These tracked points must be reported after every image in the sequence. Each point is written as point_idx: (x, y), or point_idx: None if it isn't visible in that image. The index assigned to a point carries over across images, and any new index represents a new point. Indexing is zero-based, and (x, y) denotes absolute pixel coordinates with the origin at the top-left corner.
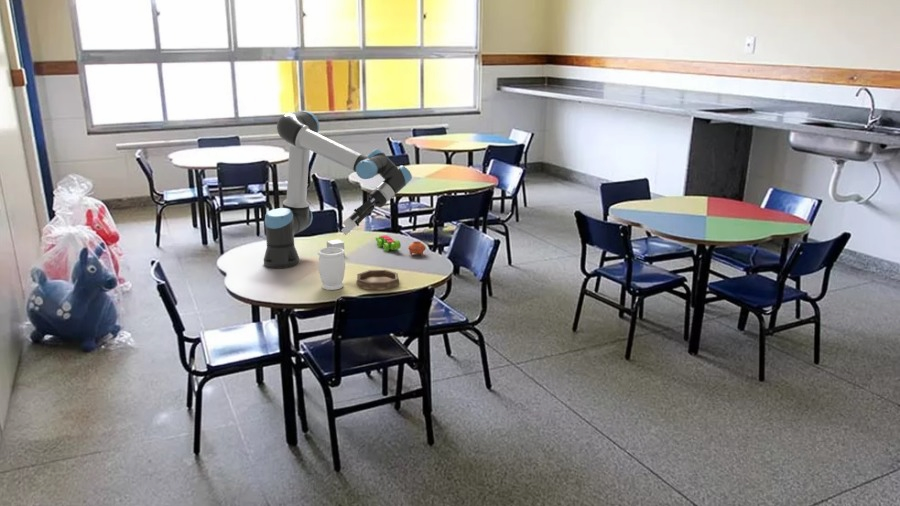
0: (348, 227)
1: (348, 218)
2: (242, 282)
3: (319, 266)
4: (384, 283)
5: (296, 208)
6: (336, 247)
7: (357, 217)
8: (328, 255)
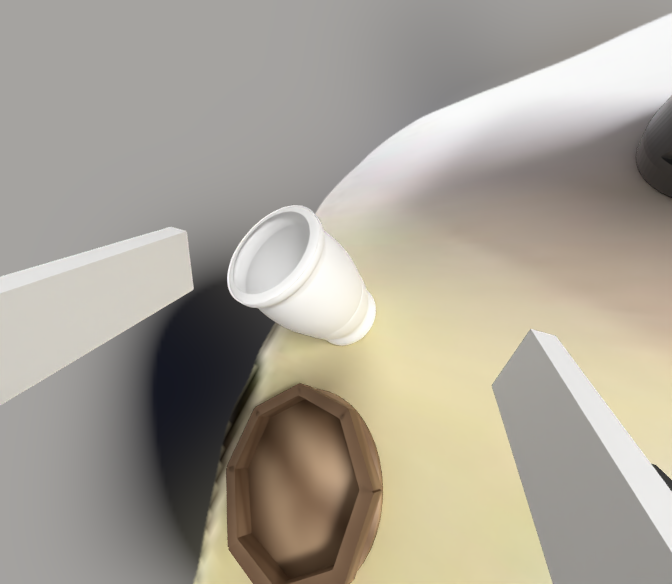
0: (549, 438)
1: (98, 257)
2: (483, 107)
3: (306, 242)
4: (232, 458)
5: None
6: (299, 277)
7: (5, 370)
8: (243, 241)
